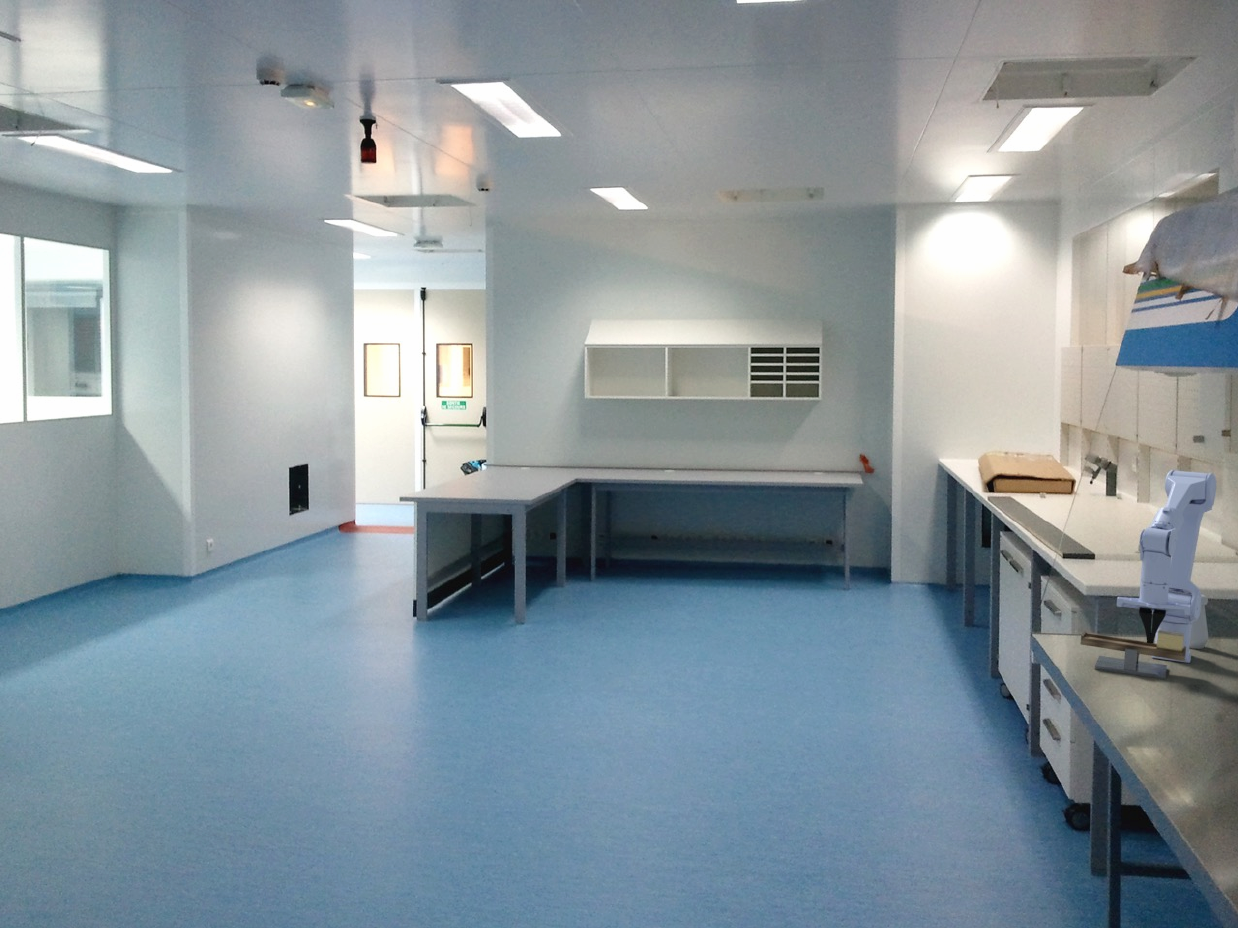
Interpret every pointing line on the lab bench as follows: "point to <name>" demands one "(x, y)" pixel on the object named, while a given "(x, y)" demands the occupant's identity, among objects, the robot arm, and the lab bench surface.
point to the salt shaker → (1199, 628)
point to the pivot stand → (1131, 665)
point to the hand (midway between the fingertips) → (1150, 642)
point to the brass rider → (1170, 641)
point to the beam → (1129, 646)
